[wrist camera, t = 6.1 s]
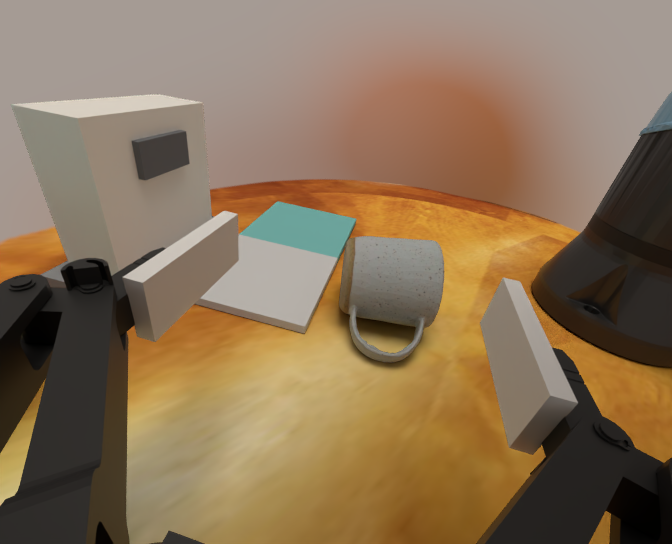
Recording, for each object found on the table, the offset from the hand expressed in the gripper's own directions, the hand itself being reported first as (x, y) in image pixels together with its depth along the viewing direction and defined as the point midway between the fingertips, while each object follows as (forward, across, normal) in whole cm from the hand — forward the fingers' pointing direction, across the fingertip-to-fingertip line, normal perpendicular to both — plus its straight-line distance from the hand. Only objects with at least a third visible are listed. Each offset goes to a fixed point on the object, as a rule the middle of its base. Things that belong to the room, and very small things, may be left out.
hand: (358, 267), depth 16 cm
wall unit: (+12, -22, -11) cm, 27 cm away
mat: (+18, -10, -11) cm, 23 cm away
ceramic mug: (+10, +3, -11) cm, 15 cm away
